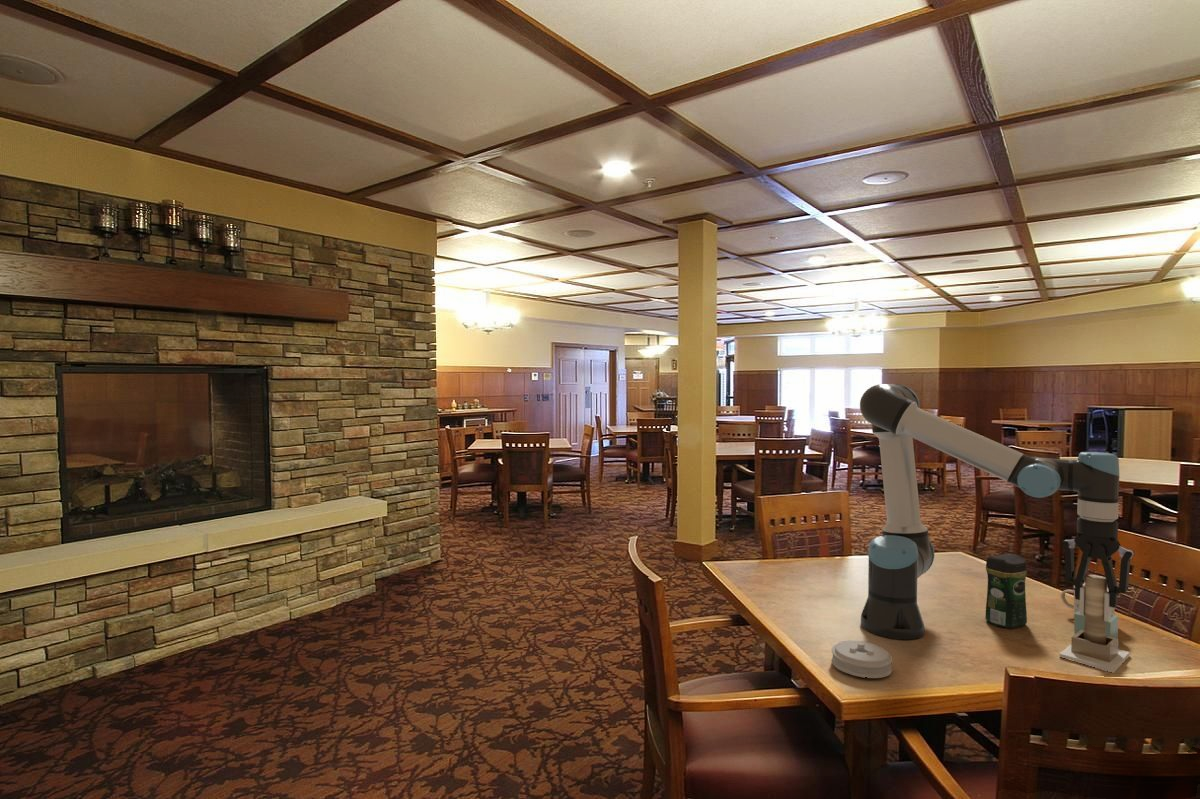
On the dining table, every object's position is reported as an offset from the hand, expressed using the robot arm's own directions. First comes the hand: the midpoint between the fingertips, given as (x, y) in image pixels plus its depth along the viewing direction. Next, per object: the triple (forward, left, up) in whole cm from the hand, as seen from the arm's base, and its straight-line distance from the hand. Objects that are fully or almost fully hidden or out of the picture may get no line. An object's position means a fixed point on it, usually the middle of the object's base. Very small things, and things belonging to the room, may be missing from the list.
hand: (1095, 616), depth 146 cm
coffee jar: (+7, +21, -10) cm, 24 cm away
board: (0, 0, -10) cm, 10 cm away
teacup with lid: (+27, +8, -10) cm, 30 cm away
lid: (-49, +31, -10) cm, 59 cm away
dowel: (0, 0, -8) cm, 8 cm away
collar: (0, 0, -10) cm, 10 cm away
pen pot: (+14, +3, -10) cm, 17 cm away
